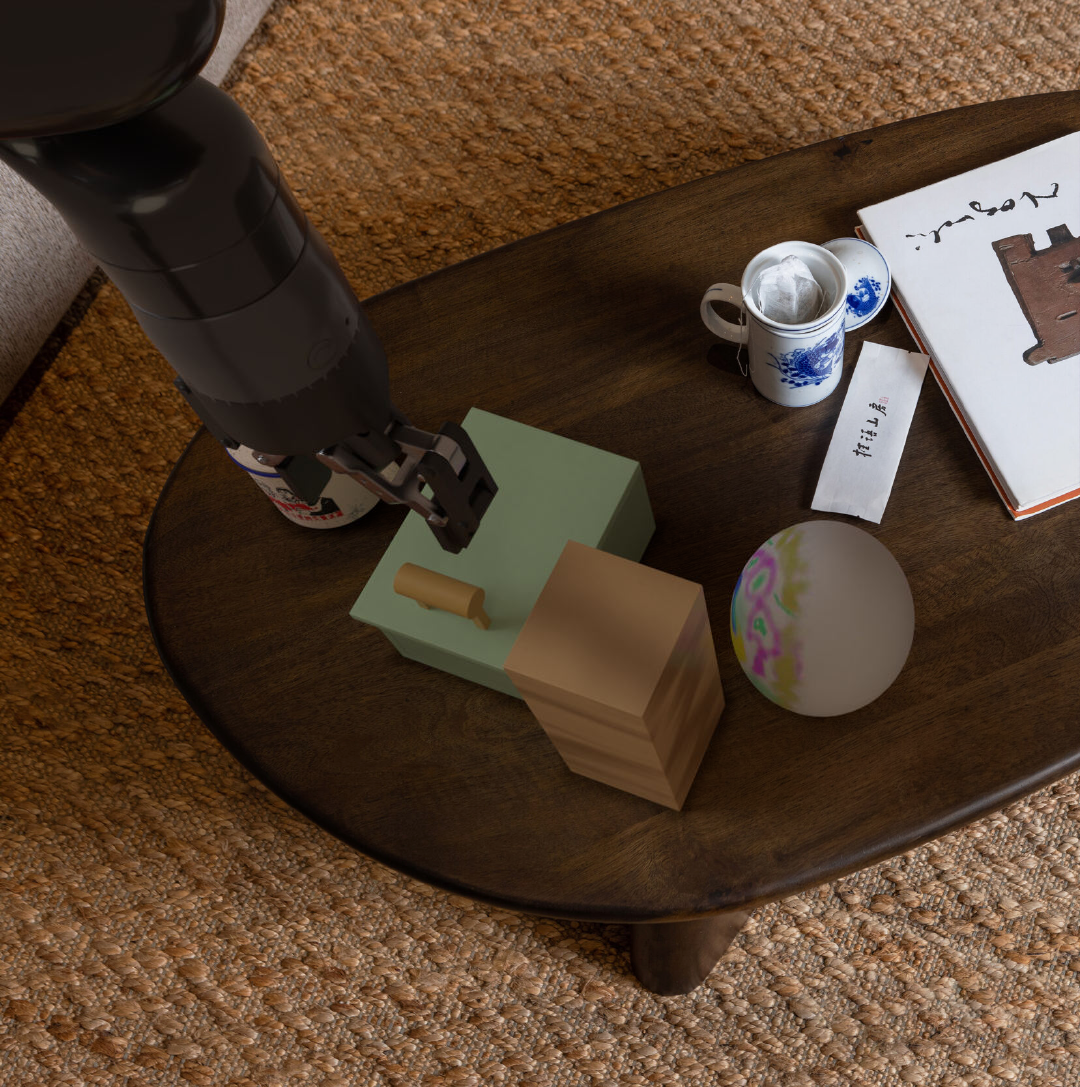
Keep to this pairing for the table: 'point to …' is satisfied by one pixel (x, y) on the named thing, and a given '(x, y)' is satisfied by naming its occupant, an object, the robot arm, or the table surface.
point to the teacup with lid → (334, 504)
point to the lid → (497, 543)
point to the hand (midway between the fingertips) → (388, 512)
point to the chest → (621, 540)
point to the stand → (621, 673)
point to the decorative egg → (822, 618)
